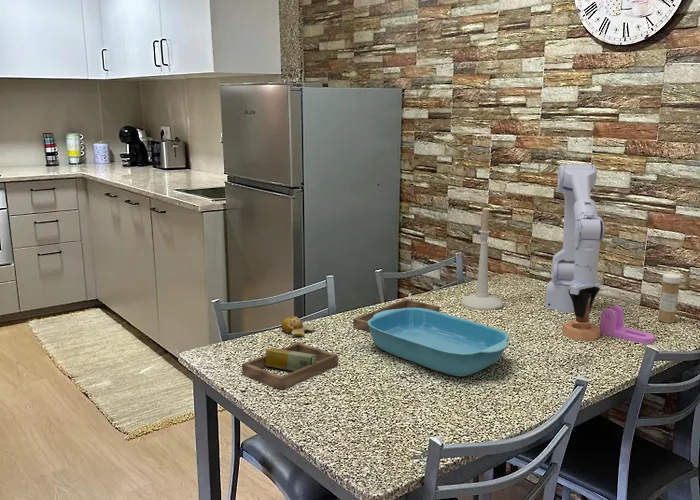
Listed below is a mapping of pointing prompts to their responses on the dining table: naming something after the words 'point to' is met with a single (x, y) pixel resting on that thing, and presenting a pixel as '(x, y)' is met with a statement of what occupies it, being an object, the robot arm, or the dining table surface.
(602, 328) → the bracket
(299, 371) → the box frame
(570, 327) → the orange flat ring
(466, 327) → the casserole dish
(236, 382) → the dining table surface
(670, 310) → the sprinkles bottle
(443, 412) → the dining table surface
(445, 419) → the dining table surface
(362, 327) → the wagon frame
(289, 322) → the fruit
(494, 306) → the candlestick
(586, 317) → the peg
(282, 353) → the medication box
